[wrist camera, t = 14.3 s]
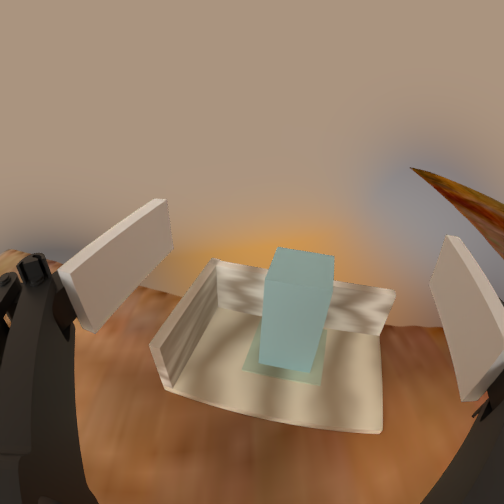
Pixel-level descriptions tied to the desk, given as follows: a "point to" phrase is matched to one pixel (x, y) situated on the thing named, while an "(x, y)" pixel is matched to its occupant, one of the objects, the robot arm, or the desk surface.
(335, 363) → the arena
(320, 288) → the teal block
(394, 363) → the desk surface
